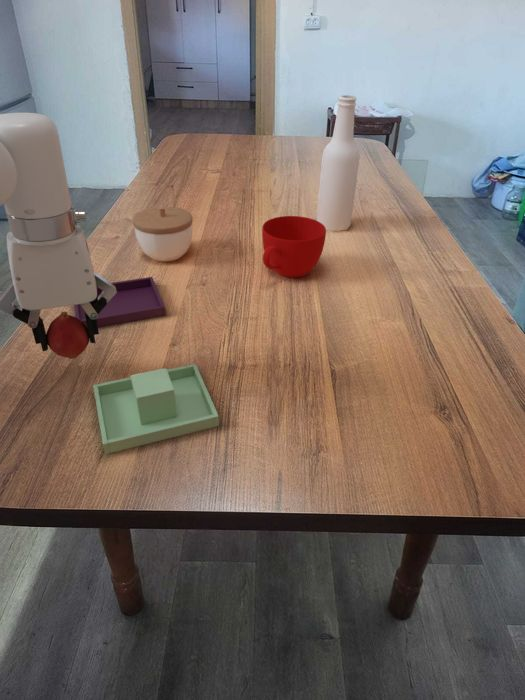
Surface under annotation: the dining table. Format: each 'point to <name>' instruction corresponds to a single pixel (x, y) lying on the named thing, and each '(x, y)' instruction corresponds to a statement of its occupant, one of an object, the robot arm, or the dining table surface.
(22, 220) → the robot arm
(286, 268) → the ceramic cup
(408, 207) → the dining table surface
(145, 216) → the lidded bowl
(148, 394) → the sage block
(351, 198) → the alcohol
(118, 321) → the plum tray
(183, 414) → the sage tray
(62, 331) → the red pomegranate
